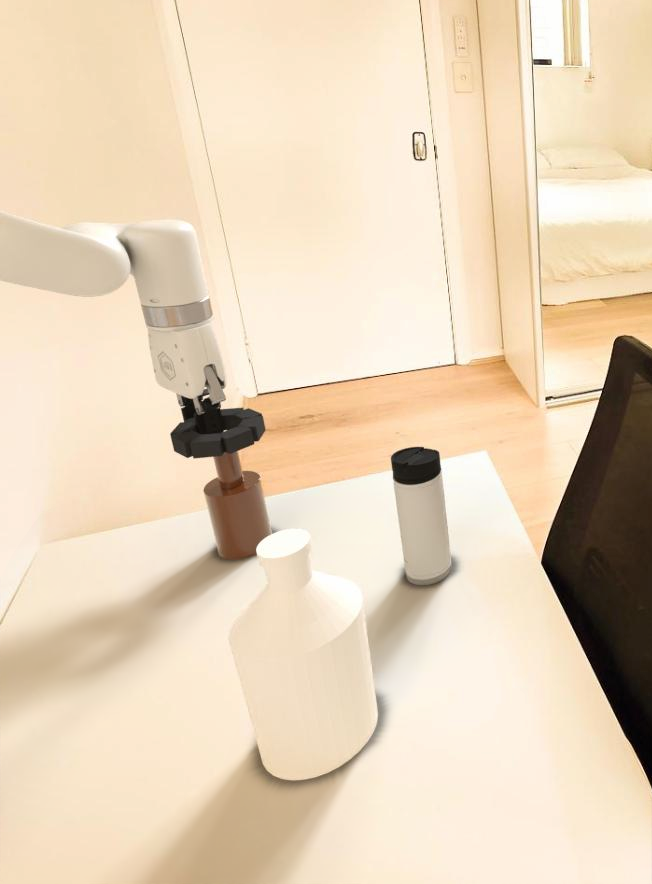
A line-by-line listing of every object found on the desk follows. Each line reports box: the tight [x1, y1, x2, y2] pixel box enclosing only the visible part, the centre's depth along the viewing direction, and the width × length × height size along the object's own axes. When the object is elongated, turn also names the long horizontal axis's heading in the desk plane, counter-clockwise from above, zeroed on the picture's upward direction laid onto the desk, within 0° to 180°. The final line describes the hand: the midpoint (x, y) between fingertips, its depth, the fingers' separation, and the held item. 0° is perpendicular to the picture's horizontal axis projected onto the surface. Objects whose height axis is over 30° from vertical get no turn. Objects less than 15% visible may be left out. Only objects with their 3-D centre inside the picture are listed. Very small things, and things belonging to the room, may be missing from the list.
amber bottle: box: [203, 451, 273, 561], centre depth 101 cm, size 7×7×17 cm
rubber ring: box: [169, 407, 267, 459], centre depth 98 cm, size 10×10×2 cm
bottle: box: [228, 528, 379, 781], centre depth 71 cm, size 12×12×25 cm
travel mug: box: [390, 446, 453, 586], centre depth 97 cm, size 6×7×20 cm
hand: (205, 431), depth 100 cm, fingers closed on rubber ring, 2 cm apart
